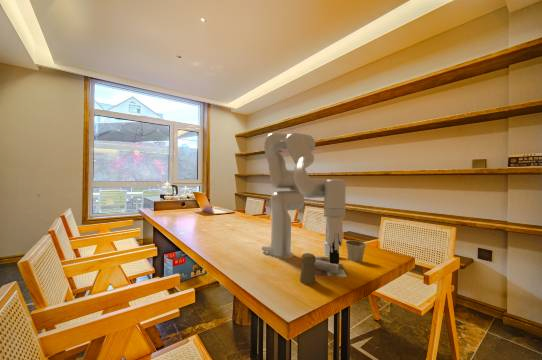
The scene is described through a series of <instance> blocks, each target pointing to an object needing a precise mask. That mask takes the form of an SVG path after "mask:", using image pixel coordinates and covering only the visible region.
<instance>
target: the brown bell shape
mask: <svg viewBox="0 0 542 360" xmlns="http://www.w3.org/2000/svg"><path fill="white" fill-rule="evenodd" d="M300 260H301V263H302V265H301V271H300V275H299V282H300V283H301V284H303V285H305V286H307V285H308V286H312V285H315V284H316V282H317V281H316V275H315V270H314V263H315V261H316V258H315V254H313V253H309V252H305V253H303V254H301V257H300Z"/></svg>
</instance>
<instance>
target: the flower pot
mask: <svg viewBox="0 0 542 360" xmlns="http://www.w3.org/2000/svg"><path fill="white" fill-rule="evenodd" d="M344 242H345V243H344V244H345V246H346V250H347V252H346V253H347V260H348V261H352V262H358V263H363V258H364V254H365V253H364V252H365V249H366V247H367V243H365V242H363V241H360V240H352V239H350V240H345V241H344Z"/></svg>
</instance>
